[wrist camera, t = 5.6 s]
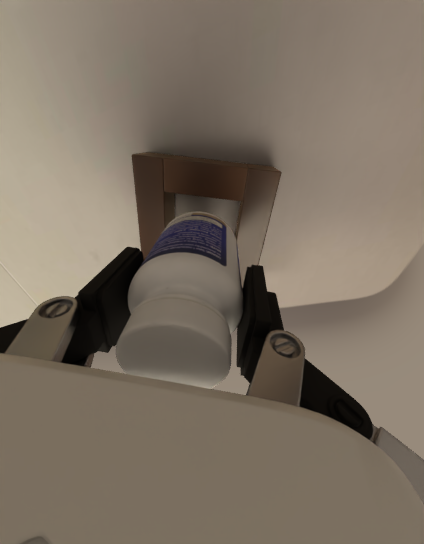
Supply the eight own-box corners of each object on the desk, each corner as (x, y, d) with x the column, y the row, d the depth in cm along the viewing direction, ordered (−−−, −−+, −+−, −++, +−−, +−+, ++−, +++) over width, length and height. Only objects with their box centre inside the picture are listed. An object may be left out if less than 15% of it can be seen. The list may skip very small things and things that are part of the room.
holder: (274, 166, 16) (281, 171, 14) (249, 273, 22) (251, 292, 19) (148, 151, 17) (131, 154, 14) (154, 261, 22) (143, 277, 20)
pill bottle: (146, 239, 14) (61, 348, 7) (205, 192, 12) (174, 272, 5) (195, 289, 17) (169, 414, 9) (252, 255, 15) (279, 378, 7)
